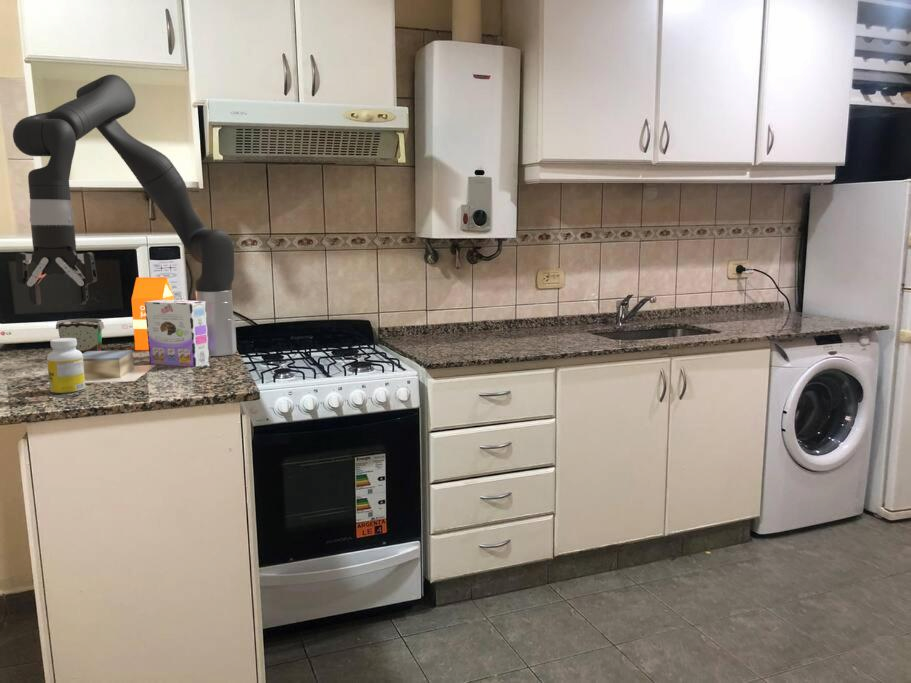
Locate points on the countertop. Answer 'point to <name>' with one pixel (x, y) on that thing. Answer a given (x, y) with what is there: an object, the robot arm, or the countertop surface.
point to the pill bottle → (65, 368)
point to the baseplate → (130, 376)
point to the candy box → (177, 332)
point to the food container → (82, 333)
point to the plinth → (107, 364)
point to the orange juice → (143, 293)
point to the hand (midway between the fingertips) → (59, 304)
